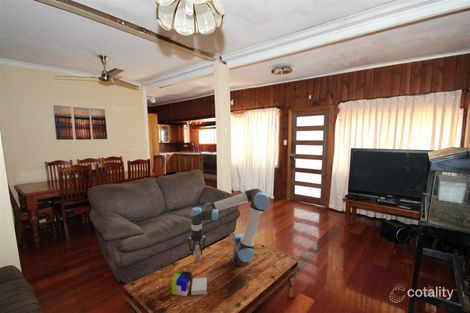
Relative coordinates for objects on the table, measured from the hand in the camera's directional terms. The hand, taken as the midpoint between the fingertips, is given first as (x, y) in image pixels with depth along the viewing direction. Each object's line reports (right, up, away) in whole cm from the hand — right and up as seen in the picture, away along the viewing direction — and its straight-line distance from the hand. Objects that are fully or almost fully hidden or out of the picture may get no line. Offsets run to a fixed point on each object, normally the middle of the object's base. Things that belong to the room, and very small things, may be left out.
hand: (197, 258), depth 157 cm
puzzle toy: (-8, -16, -12) cm, 21 cm away
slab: (+3, -16, -10) cm, 19 cm away
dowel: (0, 0, 0) cm, 0 cm away
